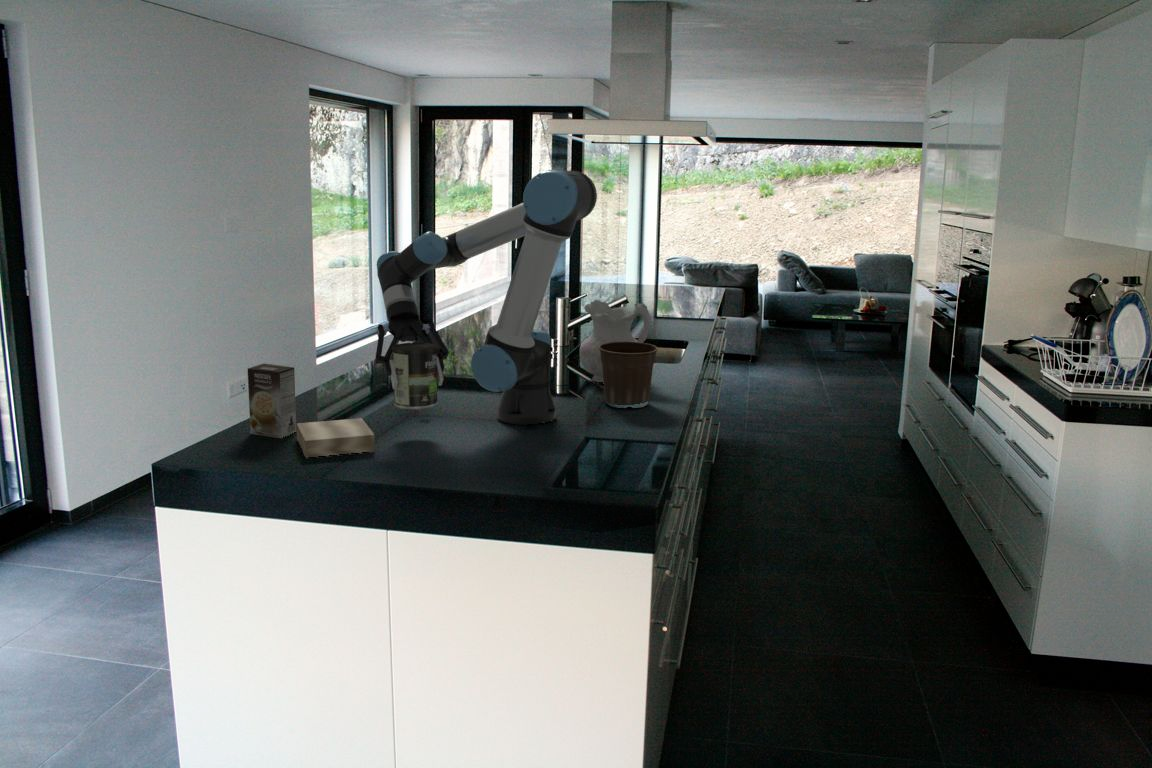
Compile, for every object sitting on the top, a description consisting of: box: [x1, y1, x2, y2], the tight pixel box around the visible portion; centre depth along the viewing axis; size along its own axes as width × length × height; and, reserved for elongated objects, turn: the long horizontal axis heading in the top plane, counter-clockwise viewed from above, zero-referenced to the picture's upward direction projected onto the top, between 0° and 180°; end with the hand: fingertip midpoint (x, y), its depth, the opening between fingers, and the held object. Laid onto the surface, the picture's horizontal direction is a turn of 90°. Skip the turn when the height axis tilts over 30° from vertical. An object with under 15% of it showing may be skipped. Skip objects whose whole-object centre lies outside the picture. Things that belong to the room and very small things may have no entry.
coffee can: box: [392, 342, 439, 410], centre depth 223 cm, size 10×10×14 cm
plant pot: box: [598, 342, 659, 405], centre depth 259 cm, size 16×16×16 cm
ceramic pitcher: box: [579, 299, 651, 382], centre depth 286 cm, size 22×20×25 cm
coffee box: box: [247, 363, 297, 439], centre depth 223 cm, size 9×6×16 cm
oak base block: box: [296, 417, 376, 459], centre depth 216 cm, size 15×15×4 cm
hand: (418, 384), depth 220 cm, fingers closed on coffee can, 10 cm apart
